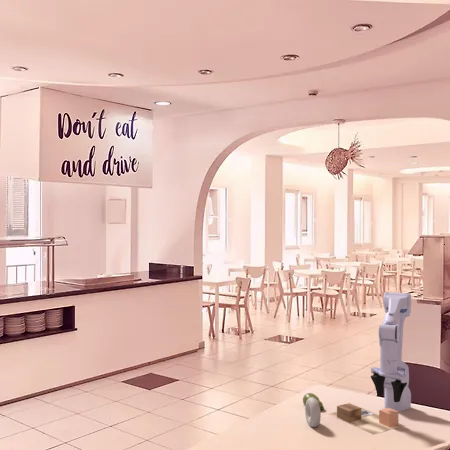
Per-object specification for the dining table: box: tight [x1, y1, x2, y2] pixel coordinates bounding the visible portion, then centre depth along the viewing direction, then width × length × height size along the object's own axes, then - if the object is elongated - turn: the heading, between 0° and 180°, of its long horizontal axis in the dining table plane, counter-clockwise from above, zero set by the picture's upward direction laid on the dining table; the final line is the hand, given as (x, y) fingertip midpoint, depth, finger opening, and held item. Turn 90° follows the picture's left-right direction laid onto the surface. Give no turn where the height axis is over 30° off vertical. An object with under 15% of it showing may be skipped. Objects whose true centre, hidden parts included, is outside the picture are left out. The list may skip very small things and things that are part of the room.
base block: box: [336, 402, 362, 423], centre depth 197 cm, size 6×6×4 cm
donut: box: [304, 397, 321, 428], centre depth 191 cm, size 10×4×10 cm, turn 8°
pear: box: [302, 392, 325, 411], centre depth 209 cm, size 6×5×10 cm
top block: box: [378, 407, 399, 427], centre depth 192 cm, size 4×4×4 cm
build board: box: [328, 407, 405, 435], centre depth 196 cm, size 15×22×1 cm
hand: (388, 398), depth 192 cm, fingers open, 7 cm apart
